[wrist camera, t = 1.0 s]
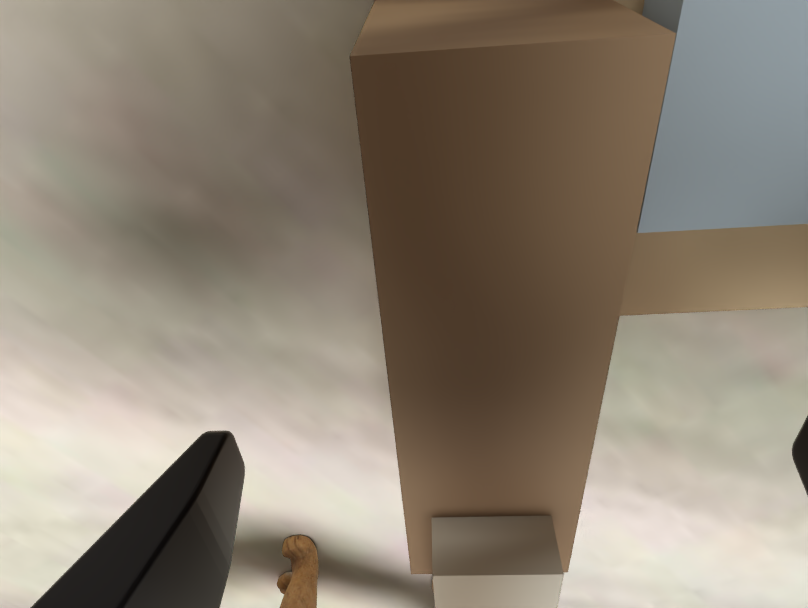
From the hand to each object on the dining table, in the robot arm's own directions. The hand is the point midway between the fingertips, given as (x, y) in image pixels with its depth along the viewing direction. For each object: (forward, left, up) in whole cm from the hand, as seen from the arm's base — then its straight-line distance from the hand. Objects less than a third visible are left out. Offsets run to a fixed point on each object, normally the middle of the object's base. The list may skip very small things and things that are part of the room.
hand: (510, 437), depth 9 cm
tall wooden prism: (0, 0, -6) cm, 6 cm away
